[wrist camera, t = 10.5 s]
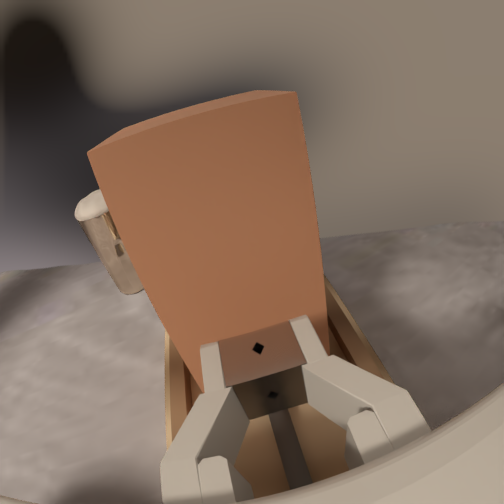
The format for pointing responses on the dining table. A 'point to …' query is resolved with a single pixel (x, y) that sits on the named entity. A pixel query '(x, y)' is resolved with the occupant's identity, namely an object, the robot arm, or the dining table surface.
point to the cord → (290, 450)
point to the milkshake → (107, 242)
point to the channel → (303, 416)
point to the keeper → (218, 217)
